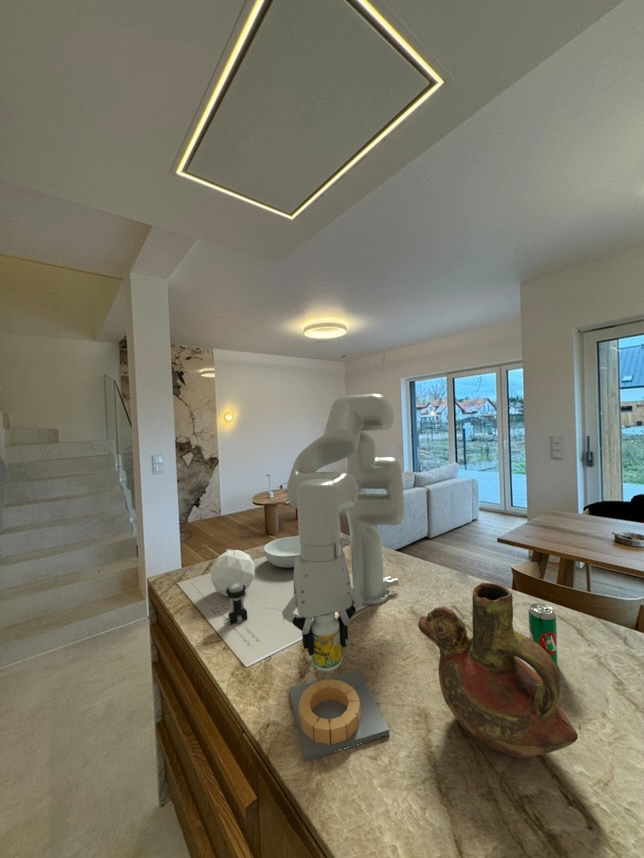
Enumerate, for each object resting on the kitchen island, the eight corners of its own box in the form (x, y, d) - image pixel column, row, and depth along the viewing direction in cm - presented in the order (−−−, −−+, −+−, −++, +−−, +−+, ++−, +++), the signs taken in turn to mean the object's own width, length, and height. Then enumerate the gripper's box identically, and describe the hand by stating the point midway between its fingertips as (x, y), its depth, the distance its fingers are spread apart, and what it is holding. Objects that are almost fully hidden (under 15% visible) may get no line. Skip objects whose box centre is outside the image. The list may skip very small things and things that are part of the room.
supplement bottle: (346, 657, 65) (343, 606, 64) (333, 676, 60) (330, 621, 60) (321, 648, 67) (318, 599, 67) (306, 666, 63) (303, 614, 62)
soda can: (532, 651, 79) (530, 599, 79) (558, 660, 76) (557, 606, 76) (528, 664, 75) (526, 610, 75) (556, 674, 72) (554, 617, 72)
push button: (227, 630, 94) (224, 593, 93) (220, 621, 98) (218, 586, 98) (250, 621, 97) (248, 586, 97) (243, 612, 102) (241, 579, 101)
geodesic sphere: (198, 571, 117) (206, 544, 110) (237, 558, 127) (247, 532, 120) (215, 612, 109) (226, 585, 102) (255, 594, 118) (267, 569, 111)
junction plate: (358, 674, 75) (358, 669, 75) (389, 734, 61) (389, 729, 61) (289, 692, 71) (289, 687, 71) (305, 761, 57) (305, 755, 57)
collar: (348, 686, 71) (347, 674, 71) (369, 732, 60) (368, 718, 60) (294, 700, 68) (294, 687, 68) (307, 752, 57) (306, 737, 57)
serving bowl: (329, 557, 138) (328, 539, 138) (298, 579, 121) (296, 560, 120) (287, 548, 150) (286, 532, 149) (253, 568, 132) (252, 550, 132)
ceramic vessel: (441, 665, 76) (436, 553, 76) (589, 739, 58) (585, 591, 57) (397, 715, 64) (391, 582, 64) (566, 828, 46) (560, 643, 45)
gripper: (357, 535, 69) (362, 625, 69) (270, 548, 64) (276, 644, 65) (372, 548, 61) (377, 649, 62) (275, 564, 57) (282, 672, 58)
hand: (325, 645), depth 63 cm, fingers closed on supplement bottle, 5 cm apart
